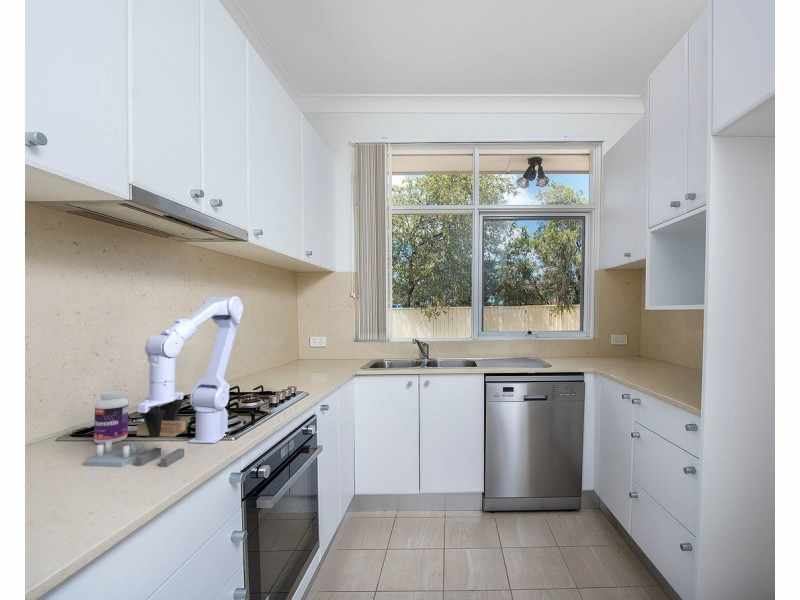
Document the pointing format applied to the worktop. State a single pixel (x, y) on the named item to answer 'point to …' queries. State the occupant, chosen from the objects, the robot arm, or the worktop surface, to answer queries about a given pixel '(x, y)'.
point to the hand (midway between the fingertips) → (161, 433)
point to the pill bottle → (111, 417)
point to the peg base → (114, 455)
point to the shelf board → (164, 428)
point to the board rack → (156, 453)
